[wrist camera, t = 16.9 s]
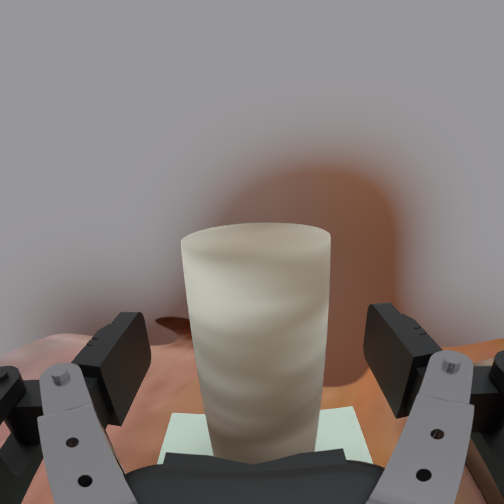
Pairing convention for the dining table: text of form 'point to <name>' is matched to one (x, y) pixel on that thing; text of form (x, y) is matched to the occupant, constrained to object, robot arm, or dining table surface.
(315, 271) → the maple peg
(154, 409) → the dining table surface
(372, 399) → the dining table surface
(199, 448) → the sage pad
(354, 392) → the dining table surface
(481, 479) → the board
